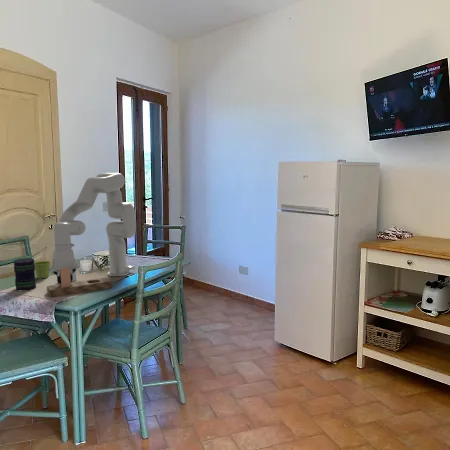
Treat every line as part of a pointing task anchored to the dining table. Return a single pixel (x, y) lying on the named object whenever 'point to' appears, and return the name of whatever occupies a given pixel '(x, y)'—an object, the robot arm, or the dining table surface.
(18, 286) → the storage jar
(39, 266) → the plant pot
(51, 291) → the rail
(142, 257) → the dining table surface
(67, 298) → the dining table surface
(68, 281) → the peg
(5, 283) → the dining table surface
